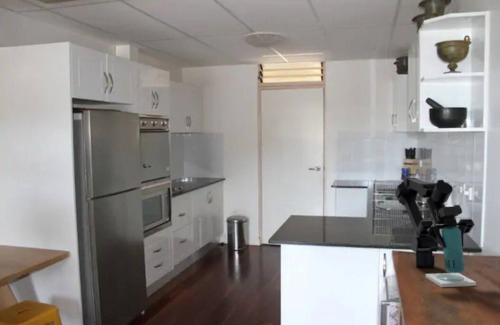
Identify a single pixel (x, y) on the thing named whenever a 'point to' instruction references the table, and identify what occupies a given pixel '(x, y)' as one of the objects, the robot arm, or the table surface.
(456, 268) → the beverage bottle
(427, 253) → the robot arm
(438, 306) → the table surface
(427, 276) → the pad
